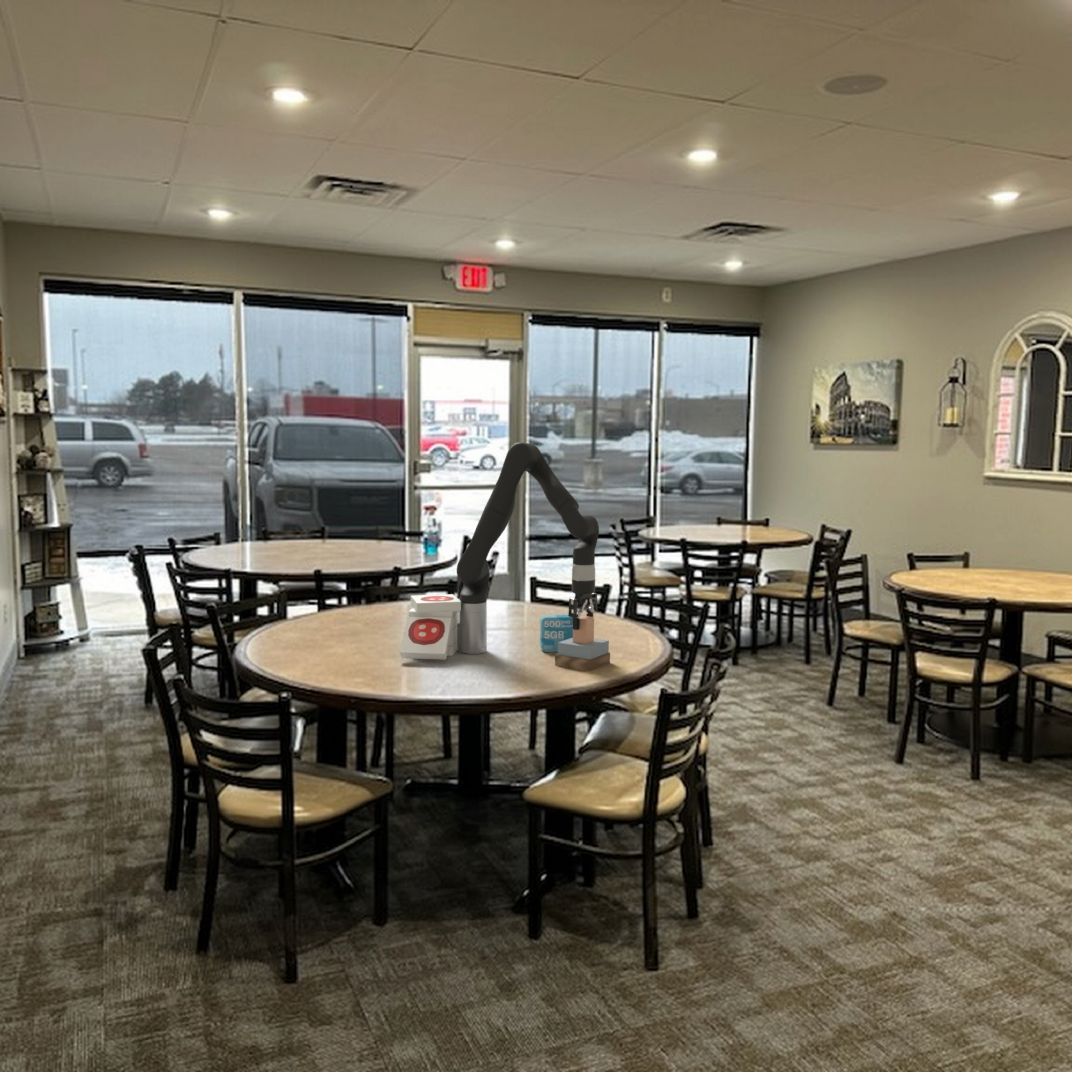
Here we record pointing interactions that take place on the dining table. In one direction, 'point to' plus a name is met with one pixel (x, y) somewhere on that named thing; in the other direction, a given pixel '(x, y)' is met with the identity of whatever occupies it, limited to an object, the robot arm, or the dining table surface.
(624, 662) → the dining table surface
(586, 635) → the terracotta block
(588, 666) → the tower base
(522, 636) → the dining table surface
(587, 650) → the tower top
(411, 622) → the pizza boxes
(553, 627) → the data package
